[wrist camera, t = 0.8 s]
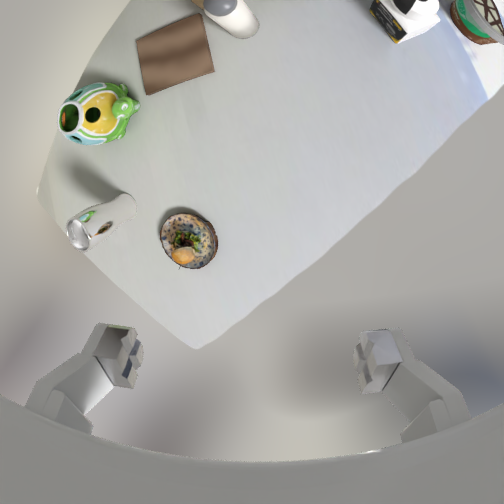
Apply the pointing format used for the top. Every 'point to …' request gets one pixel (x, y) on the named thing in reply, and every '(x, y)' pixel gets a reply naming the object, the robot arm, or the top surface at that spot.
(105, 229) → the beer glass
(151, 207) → the top surface
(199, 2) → the oak block
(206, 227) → the burger
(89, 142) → the turtle holder
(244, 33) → the plastic bottle
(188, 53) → the walnut board
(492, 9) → the food container
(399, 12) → the medicine bottle
